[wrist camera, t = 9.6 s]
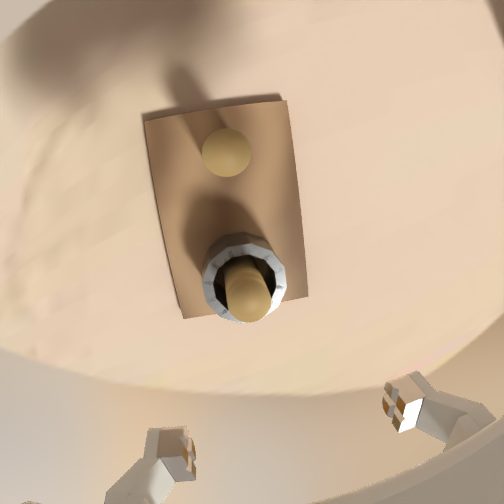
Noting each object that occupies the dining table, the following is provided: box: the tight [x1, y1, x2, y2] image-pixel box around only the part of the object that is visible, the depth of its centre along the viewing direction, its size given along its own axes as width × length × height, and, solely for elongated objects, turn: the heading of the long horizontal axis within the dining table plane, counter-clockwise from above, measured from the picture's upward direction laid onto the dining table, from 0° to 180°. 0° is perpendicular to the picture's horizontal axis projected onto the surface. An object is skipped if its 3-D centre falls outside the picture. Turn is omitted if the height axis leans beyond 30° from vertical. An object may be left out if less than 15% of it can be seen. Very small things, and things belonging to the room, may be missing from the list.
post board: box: [144, 100, 308, 322], centre depth 24 cm, size 12×18×8 cm, turn 8°
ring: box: [202, 231, 287, 323], centre depth 26 cm, size 6×6×4 cm
